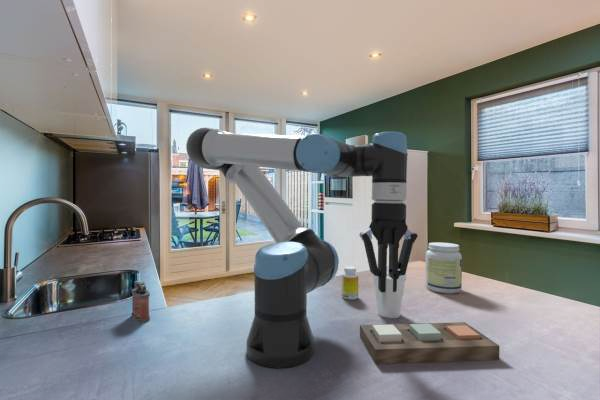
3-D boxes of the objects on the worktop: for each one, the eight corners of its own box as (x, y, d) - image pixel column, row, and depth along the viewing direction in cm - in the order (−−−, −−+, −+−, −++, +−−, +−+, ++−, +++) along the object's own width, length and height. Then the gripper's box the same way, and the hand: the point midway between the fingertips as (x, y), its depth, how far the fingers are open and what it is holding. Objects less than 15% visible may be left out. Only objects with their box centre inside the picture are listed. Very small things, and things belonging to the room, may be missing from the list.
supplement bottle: (360, 299, 102) (361, 269, 102) (345, 300, 101) (345, 269, 101) (354, 294, 108) (354, 265, 108) (339, 295, 106) (339, 266, 106)
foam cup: (407, 321, 84) (408, 274, 84) (373, 318, 86) (373, 273, 86) (403, 309, 94) (403, 267, 94) (372, 306, 96) (372, 265, 95)
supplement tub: (468, 294, 108) (468, 247, 108) (433, 294, 108) (434, 246, 108) (451, 284, 120) (452, 241, 120) (420, 284, 120) (420, 241, 120)
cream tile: (379, 343, 67) (379, 334, 67) (372, 333, 72) (372, 325, 72) (401, 343, 67) (401, 334, 67) (392, 332, 72) (393, 324, 72)
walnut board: (375, 363, 63) (375, 349, 63) (359, 336, 75) (359, 324, 75) (499, 359, 65) (499, 345, 65) (464, 334, 77) (465, 322, 77)
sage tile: (419, 342, 67) (419, 333, 67) (409, 332, 72) (409, 324, 72) (440, 342, 68) (441, 333, 68) (429, 331, 73) (429, 323, 73)
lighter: (152, 320, 84) (152, 284, 84) (139, 324, 82) (139, 286, 82) (141, 312, 90) (141, 278, 90) (128, 315, 87) (128, 280, 87)
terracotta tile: (458, 344, 68) (458, 335, 68) (445, 334, 73) (446, 325, 73) (479, 343, 68) (479, 334, 68) (465, 333, 73) (466, 325, 73)
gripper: (365, 202, 65) (363, 312, 65) (424, 202, 66) (422, 311, 66) (356, 201, 72) (354, 300, 73) (409, 202, 73) (407, 299, 74)
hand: (387, 305), depth 69 cm, fingers closed
